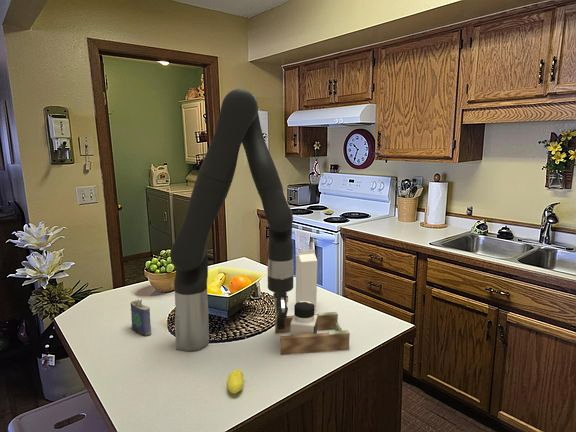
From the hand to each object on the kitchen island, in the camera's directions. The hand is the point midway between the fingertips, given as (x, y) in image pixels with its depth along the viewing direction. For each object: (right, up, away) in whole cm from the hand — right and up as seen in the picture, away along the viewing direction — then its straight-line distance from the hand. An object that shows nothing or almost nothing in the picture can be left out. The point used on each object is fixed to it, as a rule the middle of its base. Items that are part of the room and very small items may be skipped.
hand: (280, 328), depth 116 cm
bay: (+9, -4, +2) cm, 10 cm away
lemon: (-11, -9, -20) cm, 25 cm away
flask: (-44, -3, +7) cm, 45 cm away
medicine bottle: (+7, -5, +2) cm, 9 cm away
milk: (+9, 0, +24) cm, 26 cm away
